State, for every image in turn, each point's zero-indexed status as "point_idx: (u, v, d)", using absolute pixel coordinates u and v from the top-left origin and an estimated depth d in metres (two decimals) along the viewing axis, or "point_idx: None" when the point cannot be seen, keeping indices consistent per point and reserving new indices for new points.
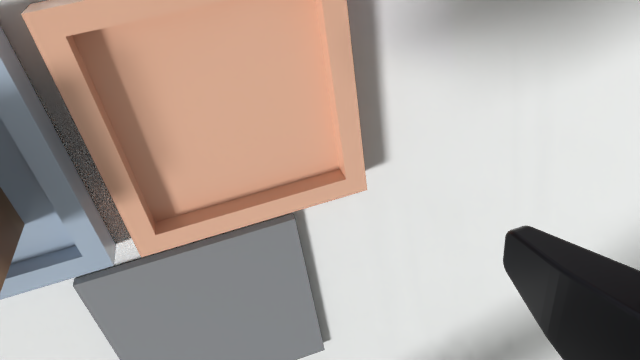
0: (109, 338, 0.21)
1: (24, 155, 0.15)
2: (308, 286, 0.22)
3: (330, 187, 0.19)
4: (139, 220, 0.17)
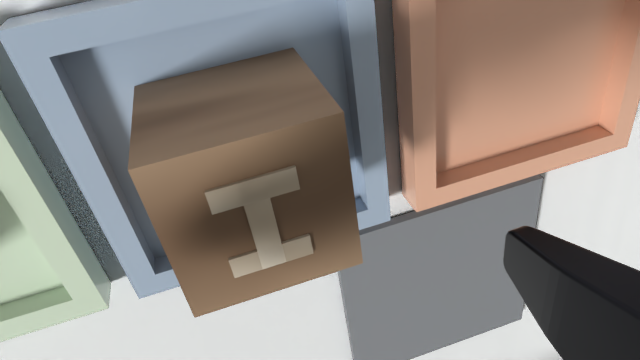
0: (347, 300, 0.20)
1: (357, 97, 0.14)
2: None
3: (597, 143, 0.18)
4: (428, 172, 0.17)
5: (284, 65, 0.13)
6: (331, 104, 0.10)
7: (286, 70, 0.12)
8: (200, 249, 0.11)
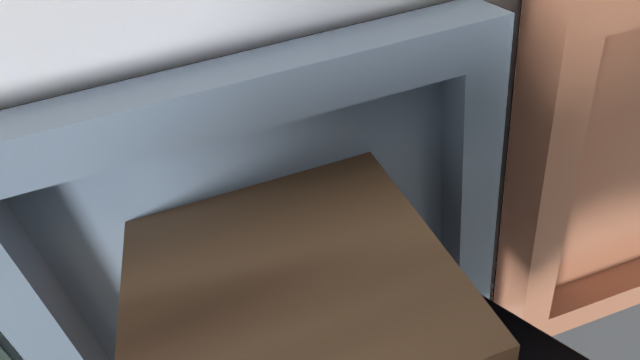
0: None
1: (462, 221, 0.09)
2: None
3: None
4: (542, 302, 0.12)
5: (366, 193, 0.08)
6: (486, 316, 0.06)
7: (373, 207, 0.08)
8: None
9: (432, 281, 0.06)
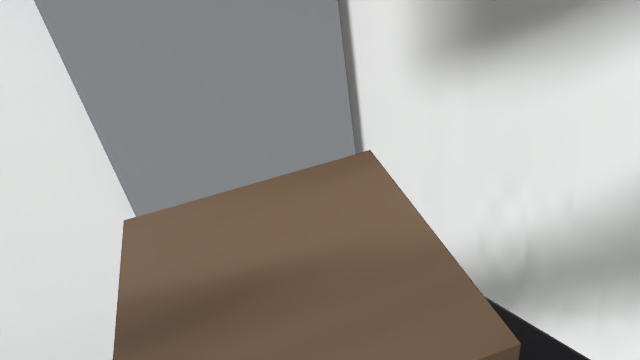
0: (86, 103, 0.16)
1: None
2: (342, 61, 0.18)
3: None
4: None
5: (366, 192, 0.08)
6: (486, 315, 0.06)
7: (373, 205, 0.08)
8: None
9: (432, 280, 0.06)
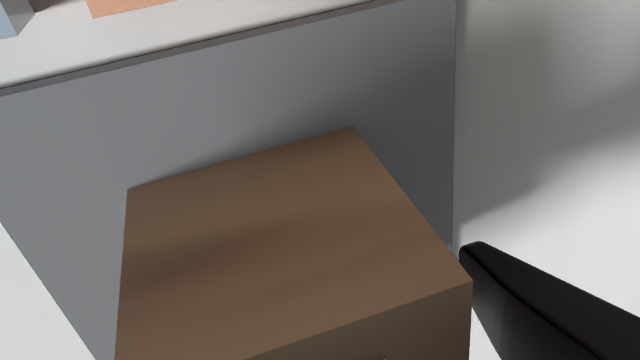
0: (38, 266, 0.09)
1: None
2: (450, 172, 0.11)
3: None
4: None
5: (347, 162, 0.09)
6: (445, 259, 0.06)
7: (353, 173, 0.08)
8: None
9: (401, 232, 0.07)
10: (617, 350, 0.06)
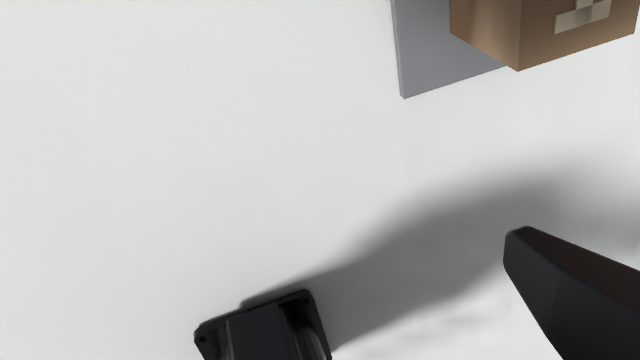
0: None
1: None
2: None
3: None
4: None
5: None
6: None
7: None
8: (541, 3, 0.15)
9: None
10: None
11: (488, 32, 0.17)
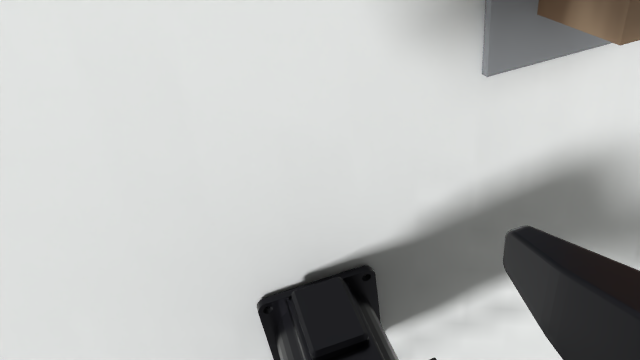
0: None
1: None
2: None
3: None
4: None
5: None
6: None
7: None
8: None
9: None
10: None
11: (587, 9, 0.18)
